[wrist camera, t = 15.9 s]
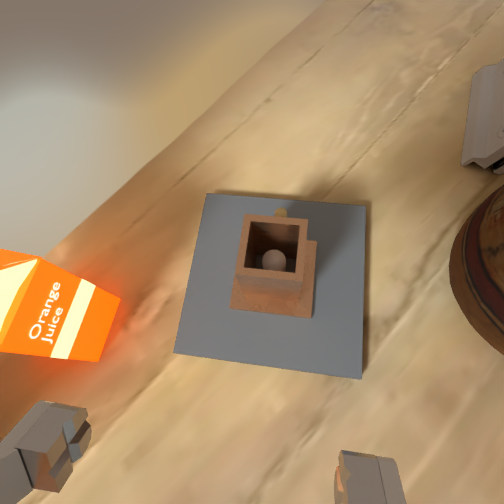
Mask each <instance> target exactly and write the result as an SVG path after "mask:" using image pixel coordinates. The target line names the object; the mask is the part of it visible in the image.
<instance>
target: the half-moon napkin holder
mask: <svg viewBox="0 0 504 504" xmlns="http://www.w3.org/2000/svg"><path fill="white" fill-rule="evenodd" d="M473 161H474V162H476V163H477V164H478V165H480V166H481V167H483V168H484V169H485V168H487V167H491V166H492V165H493V169H494V171H493V173H495V174H504V59H503V60H502V61H500V62H499V63H497V64H495V65H489V66H484V67H482V68H481V69H480V70H479V71H478V72H476V73H475V74H474V75H473V78H472V85H471V93H470V100H469V107H468V114H467V121H466V129H465V136H464V143H463V150H462V157H461V166H466V165H468V164H469V163H471V162H473Z"/></svg>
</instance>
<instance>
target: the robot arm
mask: <svg viewBox="0 0 504 504" xmlns="http://www.w3.org/2000/svg"><path fill="white" fill-rule="evenodd" d="M87 417H88V413H87V409H86V408H81V407H76V406H71V405H65V404H60V403H55V402H49V401H43V400H41V401H39V402H37V403H36V404H34V406H33V407H32V408H31V409H30V410H29V411H28V412H27V413H26V414H25V415H24V417H23V418H22V419H21V420H20V421H19V422H18V423H17V424H16V425H15V427H14V428H13V429H12V430H11V431H10V432H9V433H8V434H7V435H6V436H5V438H4V439H3V440H2V441H1V442H0V504H16V503H18V502H19V501H20V500H21V499H23V498H24V497H25V496H26V495H28V494H29V493H30V492H31V491H32V490H33V489H38V490H45V491H51V492H57V493H59V492H60V490H61V489H62V487H63V486H64V484H65V483H66V481H67V480H68V478H69V476H70V475H71V473H72V472H73V463H74V462H75V461H77V460H78V459H79V458H81V457H82V456H83V454H84V453H85V451H86V449H87V447H88V445H89V442H90V439H91V432H92V430H91V425H90V424H89V423H88V422H87V421H86V418H87ZM334 499H335V504H406V500H405V496H404V492H403V488H402V484H401V480H400V476H399V472H398V468H397V464H396V462H395V460H394V459H393V458H387V457H380V456H375V455H371V454H365V453H358V452H351V451H344V450H341V451H340V454H339V466H338V467H336V471H335V479H334Z"/></svg>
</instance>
